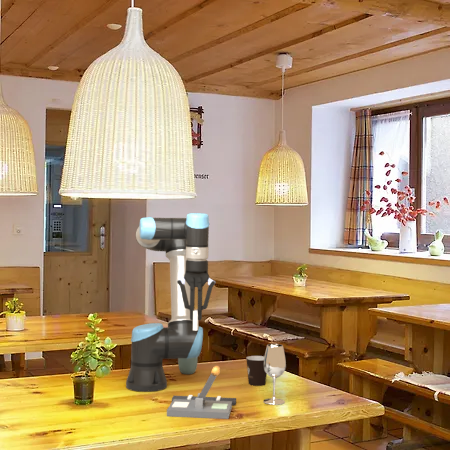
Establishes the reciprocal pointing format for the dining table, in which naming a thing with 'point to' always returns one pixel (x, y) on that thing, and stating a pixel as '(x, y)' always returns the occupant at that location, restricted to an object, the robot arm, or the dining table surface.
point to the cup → (187, 365)
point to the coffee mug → (256, 370)
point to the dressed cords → (206, 398)
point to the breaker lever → (209, 382)
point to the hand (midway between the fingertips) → (195, 329)
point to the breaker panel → (200, 408)
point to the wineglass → (274, 368)
